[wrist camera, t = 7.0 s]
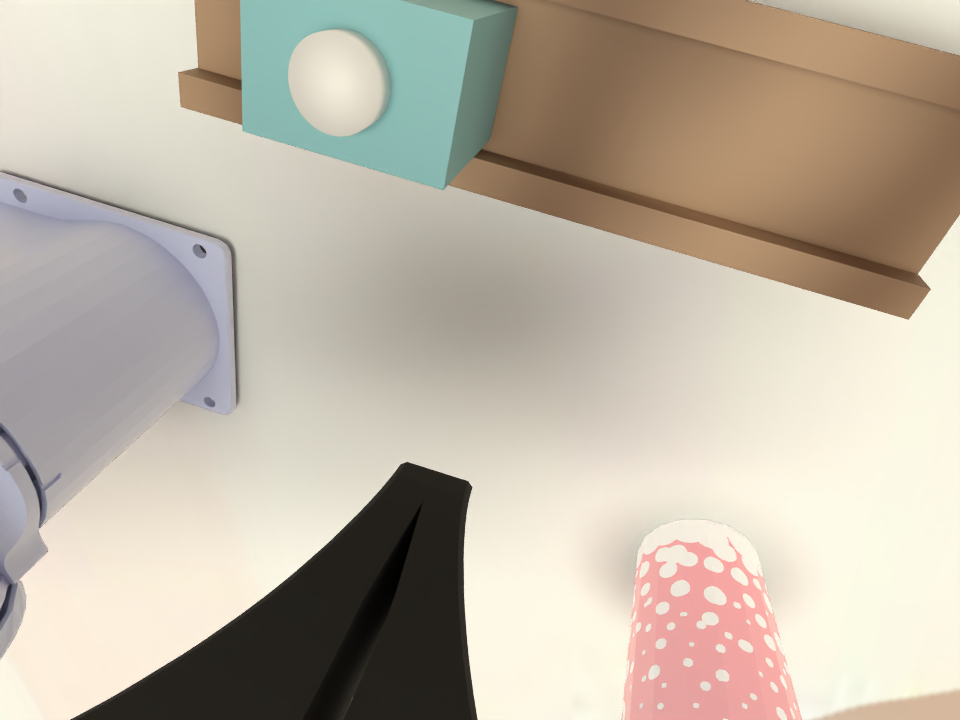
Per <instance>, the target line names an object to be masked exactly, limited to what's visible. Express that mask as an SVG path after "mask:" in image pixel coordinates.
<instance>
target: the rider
mask: <svg viewBox="0 0 960 720" xmlns="http://www.w3.org/2000/svg"><path fill="white" fill-rule="evenodd" d="M517 11H518V7H517V6H513V5H510V4H506V3H502V2H498V1H495V0H240V22H241V75H242V128H243V131H244V132H247V133H251V134H254V135H258V136H261V137H264V138H268V139H271V140H275V141H278V142H281V143H285V144H288V145H292V146H295V147H299V148H302V149H305V150H309V151H312V152H316V153H319V154H322V155H326V156H329V157H333V158H336V159H339V160H343V161H346V162H350V163H353V164H357V165H360V166H363V167H367V168H370V169H374V170H377V171H380V172H384V173H387V174H391V175H394V176H397V177H401V178H404V179H408V180H411V181H415V182H418V183H421V184H425V185H428V186H432V187H435V188H438V189H442V190H444V189H445V188H446V187H447V185H448V184H449V183H450V182H451V181H452V180H453V179H454V178H455V177H456V176H457V175H458V174H459V173H460V171H461V170H462V169H463V168H464V167H465V166H466V165H467V164H468V163H469V162H470V161H471V160H472V158H473V157H474V156H475V155H476V154H477V153H478V152H479V151H480V150H481V149H482V148H483V147H484V145H485V144H486V143H487V142H488V141H489V140H490V137H491V132H492V128H493V123H494V118H495V114H496V109H497V104H498V100H499V95H500V90H501V86H502V81H503V76H504V72H505V67H506V62H507V58H508V53H509V48H510V44H511V39H512V34H513V30H514V25H515V20H516V16H517Z"/></svg>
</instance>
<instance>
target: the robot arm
mask: <svg viewBox="0 0 960 720" xmlns="http://www.w3.org/2000/svg"><path fill="white" fill-rule="evenodd" d="M24 193H25V194H24ZM199 245H201V246H203V248H204V249H205V250H206V253H204V252H203V251H202V250H201V249H200V246H199ZM211 398H212V399H213V400H212V399H211ZM179 400H181V401H184V402H187V403H190V404H193V405H196V406H199V407H202V408H205V409H208V410H211V411H214V412H217V413H220V414H225V415H227V414H230V413H231V412H232V411H233V410H234V409H235V408H236V380H235V350H234V319H233V289H232V259H231V252H230V249H229V248H228V246H227V245H226V244H225V243H224V242H223V241H221V240H219V239H217V238H213V237H210V236H207V235H204V234H200V233H197V232H194V231H191V230H187V229H184V228H181V227H178V226H174V225H171V224H168V223H165V222H162V221H158V220H155V219H152V218H149V217H145V216H142V215H139V214H136V213H132V212H129V211H126V210H123V209H119V208H116V207H113V206H110V205H106V204H103V203H100V202H97V201H93V200H90V199H87V198H84V197H80V196H77V195H74V194H71V193H67V192H64V191H61V190H58V189H54V188H51V187H48V186H45V185H41V184H38V183H35V182H32V181H28V180H25V179H22V178H19V177H15V176H12V175H9V174H6V173H2V172H0V659H1V658H2V657H3V655H4V653H5V652H6V650H7V649H8V647H9V646H10V644H11V643H12V641H13V639H14V637H15V635H16V633H17V631H18V629H19V627H20V625H21V623H22V620H23V616H24V612H25V609H26V593H25V590H24V587H23V583H22V582H21V581H20V580H19V579H20V578H21V577H22V576H23V575H24V574H25V573H26V572H27V571H28V570H30V569H31V568H32V567H33V566H34V565H35V564H36V563H37V562H38V561H39V560H40V559H41V558H42V557H43V556H44V555H45V554H46V553H47V552H48V548H47V546H46V545H45V543H44V542H43V540H42V538H41V536H40V533H39V528H41V527H42V526H43V525H44V524H45V523H46V522H47V521H48V520H49V519H50V518H51V517H53V516H54V515H55V514H56V513H57V512H58V511H59V510H60V509H61V508H62V507H63V506H65V505H66V504H67V503H68V502H69V501H70V500H71V499H72V498H73V497H74V496H75V495H76V494H78V493H79V492H80V491H81V490H82V489H83V488H84V487H85V486H86V485H87V484H88V483H90V482H91V481H92V480H93V479H94V478H95V477H96V476H97V475H98V474H99V473H100V472H101V471H103V470H104V469H105V468H106V467H107V466H108V465H109V464H110V463H111V462H112V461H113V460H114V459H116V458H117V457H118V456H119V455H120V454H121V453H122V452H123V451H124V450H125V449H126V448H128V447H129V446H130V445H131V444H132V443H133V442H134V441H135V440H136V439H137V438H138V437H139V436H141V435H142V434H143V433H144V432H145V431H146V430H147V429H148V428H149V427H150V426H151V425H153V424H154V423H155V422H156V421H157V420H158V419H159V418H160V417H161V416H162V415H163V414H164V413H166V412H167V411H168V410H169V409H170V408H171V407H172V406H173V405H174V404H175V403H176V402H177V401H179ZM471 490H472V486H471V485H470V483H469V482H468V481H465V480H462V479H459V478H456V477H453V476H450V475H447V474H443V473H440V472H437V471H434V470H431V469H428V468H424V467H421V466H418V465H415V464H412V463H409V462H406V463H403V464H401V465H400V466H399V467H398V469H397V470H396V472H395V473H394V474H393V475H392V477H391V478H390V479H389V480H388V482H387V483H386V484H385V485H384V486H383V487H382V489H381V490H380V491H379V492H378V493H377V494H376V495H375V496H374V498H373V499H372V500H371V501H370V502H369V503H368V504H367V505H366V506H365V507H364V508H363V509H362V510H361V511H360V512H359V513H358V514H357V515H356V516H355V517H354V518H353V519H352V520H351V521H350V522H349V523H348V524H347V525H346V526H345V527H344V528H343V529H342V530H341V531H340V532H339V533H338V534H337V535H336V536H335V537H334V538H333V539H332V540H331V541H330V542H329V543H328V544H327V545H325V546H324V547H323V548H322V549H321V550H320V551H319V552H318V553H316V554H315V555H314V556H313V557H312V558H311V559H310V560H308V561H307V562H306V563H305V564H304V565H303V566H302V567H300V568H299V569H298V570H297V571H296V572H295V573H294V574H292V575H291V576H290V577H289V578H288V579H286V580H285V581H284V582H283V583H281V584H280V585H279V586H278V587H276V588H275V589H274V590H273V591H271V592H270V593H269V594H268V595H266V596H265V597H264V598H262V599H261V600H260V601H258V602H257V603H256V604H254V605H253V606H252V607H250V608H249V609H248V610H246V611H245V612H244V613H242V614H241V615H240V616H238V617H237V618H235V619H234V620H232V621H231V622H230V623H228V624H227V625H225V626H224V627H222V628H221V629H220V630H218V631H217V632H215V633H214V634H213V635H211V636H210V637H208V638H207V639H205V640H204V641H202V642H201V643H199V644H198V645H196V646H195V647H193V648H192V649H190V650H189V651H187V652H186V653H184V654H183V655H181V656H179V657H178V658H176V659H174V660H173V661H171V662H170V663H168V664H166V665H165V666H163V667H161V668H160V669H158V670H156V671H155V672H153V673H151V674H150V675H148V676H147V677H145V678H143V679H142V680H140V681H138V682H137V683H135V684H133V685H132V686H130V687H128V688H127V689H125V690H124V691H122V692H120V693H118V694H117V695H115V696H113V697H111V698H110V699H108V700H106V701H104V702H102V703H101V704H99V705H97V706H95V707H93V708H91V709H89V710H88V711H86V712H84V713H82V714H80V715H78V716H76V717H75V718H73V719H71V720H477V714H476V708H475V701H474V695H473V688H472V680H471V673H470V665H469V656H468V646H467V635H466V621H465V606H464V561H463V558H464V535H465V522H466V514H467V507H468V502H469V498H470V494H471ZM351 700H352V701H351Z"/></svg>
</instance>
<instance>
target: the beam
mask: <svg viewBox="0 0 960 720" xmlns="http://www.w3.org/2000/svg"><path fill="white" fill-rule="evenodd" d="M495 1H498V2H502V3H506V4H510V5H513V6H517V7H518V11H517V16H516V20H515V25H514V30H513V34H512V39H511V44H510V48H509V53H508V58H507V62H506V67H505V72H504V76H503V81H502V86H501V90H500V95H499V100H498V104H497V109H496V114H495V118H494V123H493V128H492V132H491V137H490V140H489V141H488V142H487V143H486V144H485V145H484V147H483V148H482V149H481V150H480V151H479V152H478V153H477V154H476V155H475V156H474V157H473V158H472V160H471V161H470V162H469V163H468V164H467V165H466V166H465V167H464V168H463V169H462V170H461V171H460V173H459V174H458V175H457V176H456V177H455V178H454V179H453V180H452V181H451V182H450V183H449V184H448V185H450V186H453V187H457V188H460V189H464V190H467V191H470V192H474V193H477V194H481V195H484V196H487V197H491V198H494V199H498V200H501V201H505V202H508V203H511V204H515V205H518V206H522V207H525V208H529V209H532V210H535V211H539V212H542V213H546V214H549V215H552V216H556V217H559V218H563V219H566V220H570V221H573V222H576V223H580V224H583V225H587V226H590V227H594V228H597V229H600V230H604V231H607V232H611V233H614V234H617V235H621V236H624V237H628V238H631V239H635V240H638V241H641V242H645V243H648V244H652V245H655V246H659V247H662V248H665V249H669V250H672V251H676V252H679V253H682V254H686V255H689V256H693V257H696V258H700V259H703V260H706V261H710V262H713V263H717V264H720V265H724V266H727V267H730V268H734V269H737V270H741V271H744V272H747V273H751V274H754V275H758V276H761V277H765V278H768V279H771V280H775V281H778V282H782V283H785V284H789V285H792V286H795V287H799V288H802V289H806V290H809V291H812V292H816V293H819V294H823V295H826V296H830V297H833V298H836V299H840V300H843V301H847V302H850V303H853V304H857V305H860V306H864V307H867V308H871V309H874V310H877V311H881V312H884V313H888V314H891V315H895V316H898V317H901V318H905V319H908V320H909V318H910V317H911V316H912V314H913V313H914V312H915V310H916V309H917V307H918V306H919V305H920V303H921V302H922V301H923V299H924V298H925V297H926V295H927V294H928V292H929V291H930V290H931V289H930V288H929V287H928V285H927V284H926V283H925V282H924V281H923V280H922V279H921V277H920V276H919V275H918V273H919V271H920V270H921V269H922V267H923V266H924V264H925V263H926V261H927V260H928V259H929V257H930V256H931V254H932V253H933V252H934V250H935V249H936V247H937V246H938V245H939V243H940V242H941V240H942V239H943V237H944V236H945V235H946V233H947V232H948V230H949V229H950V228H951V226H952V225H953V223H954V222H955V220H956V219H957V218H958V216H959V215H960V56H959V55H955V54H951V53H947V52H943V51H940V50H936V49H932V48H928V47H924V46H920V45H917V44H913V43H909V42H905V41H901V40H897V39H893V38H890V37H886V36H882V35H878V34H874V33H870V32H866V31H863V30H859V29H855V28H851V27H847V26H843V25H839V24H836V23H832V22H828V21H824V20H820V19H816V18H812V17H809V16H805V15H801V14H797V13H793V12H789V11H785V10H782V9H778V8H774V7H770V6H766V5H762V4H758V3H755V2H751V1H747V0H495ZM195 16H196V34H197V52H198V68H196V69H192V70H187V71H183V72H178V76H179V90H180V103H181V107H183V108H186V109H190V110H193V111H197V112H200V113H204V114H207V115H210V116H214V117H217V118H221V119H224V120H228V121H231V122H234V123H238V124H241V125H242V75H241V22H240V0H195Z"/></svg>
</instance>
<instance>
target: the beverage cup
mask: <svg viewBox="0 0 960 720" xmlns="http://www.w3.org/2000/svg"><path fill="white" fill-rule="evenodd" d="M621 720H802V718H801V715H800V711H799V707H798V703H797V700H796V696H795V692H794V689H793V685H792V681H791V677H790V674H789V670H788V666H787V662H786V659H785V655H784V651H783V648H782V644H781V640H780V636H779V633H778V629H777V625H776V622H775V618H774V614H773V610H772V607H771V603H770V599H769V595H768V592H767V588H766V584H765V581H764V577H763V573H762V569H761V566H760V562H759V558H758V555H757V552H756V551H755V549H754V548H753V546H752V545H751V543H750V542H749V540H748V539H747V538H746V537H745V536H743V535H742V534H740V533H738V532H737V531H735V530H734V529H732V528H731V527H729V526H726V525H723V524H719V523H715V522H712V521H708V520H678V521H674V522H671V523H667V524H664V525H661V526H659V527H657V528H656V529H655V530H653V531H652V532H650V533H649V534H648V535H646V536H645V537H644V539H643V541H642V543H641V546H640V548H639V550H638V556H637V567H636V577H635V587H634V597H633V607H632V617H631V628H630V638H629V648H628V658H627V668H626V678H625V689H624V699H623V709H622V719H621Z"/></svg>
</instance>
